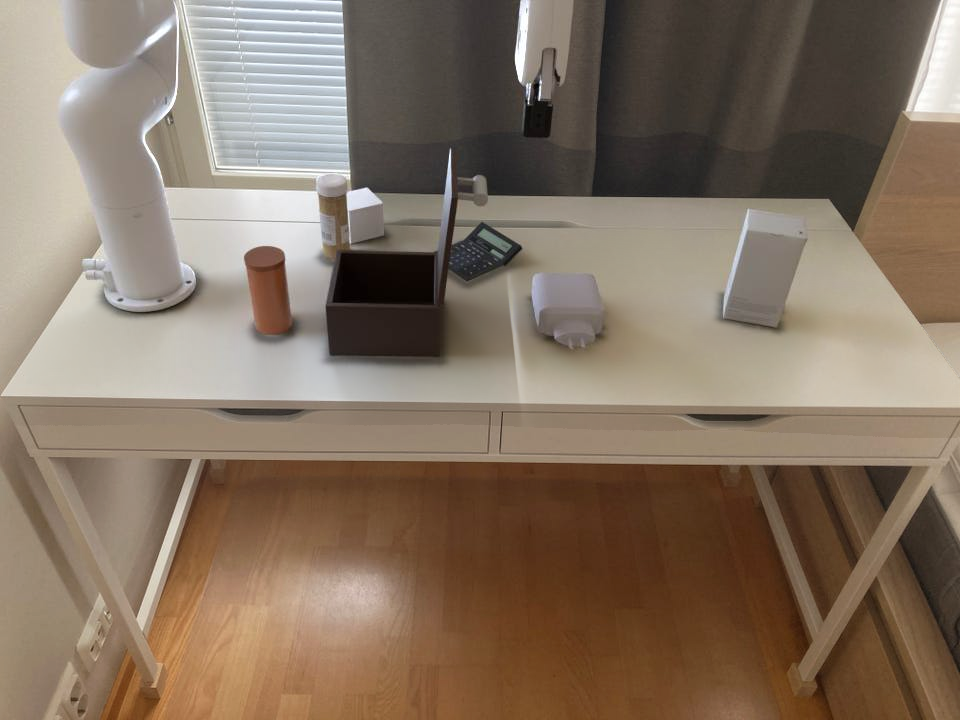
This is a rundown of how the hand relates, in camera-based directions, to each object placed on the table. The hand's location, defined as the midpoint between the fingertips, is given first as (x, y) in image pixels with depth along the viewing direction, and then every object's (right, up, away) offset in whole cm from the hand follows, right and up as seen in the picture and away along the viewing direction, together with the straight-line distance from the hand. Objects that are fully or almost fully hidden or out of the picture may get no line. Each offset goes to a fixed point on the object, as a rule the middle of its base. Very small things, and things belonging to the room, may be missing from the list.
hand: (535, 134), depth 95 cm
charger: (+6, -23, +20) cm, 31 cm away
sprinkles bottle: (-29, -10, +32) cm, 45 cm away
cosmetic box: (+34, -20, +26) cm, 47 cm away
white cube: (-27, -5, +38) cm, 47 cm away
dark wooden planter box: (-20, -23, +18) cm, 35 cm away
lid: (-11, -10, +7) cm, 17 cm away
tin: (-35, -22, +17) cm, 45 cm away
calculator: (-7, -11, +33) cm, 36 cm away
